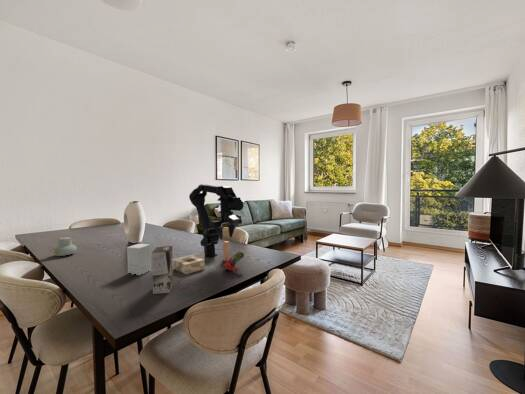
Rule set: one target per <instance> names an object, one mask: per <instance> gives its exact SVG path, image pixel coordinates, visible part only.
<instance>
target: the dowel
mask: <svg viewBox="0 0 525 394" xmlns="http://www.w3.org/2000/svg"><path fill="white" fill-rule="evenodd" d="M222 252H223V256H222V257H223V259H222V260H223V262H228V259H230V241H228V240H226V241H222ZM225 259H226V260H225Z"/></svg>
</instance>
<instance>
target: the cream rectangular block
mask: <svg viewBox="0 0 525 394" xmlns="http://www.w3.org/2000/svg"><path fill="white" fill-rule="evenodd" d="M190 256H195V257H198V258H201V259H203V260H204V262H206V261H205V260H206V259H205V258H206V257H205V253H204V251H201V252H198V253H194V254H189V255H183V256H181V257H176V258H173V271H174V270H176V269H175V260H178V259H182V258H186V257H190Z"/></svg>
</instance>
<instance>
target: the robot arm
mask: <svg viewBox="0 0 525 394" xmlns="http://www.w3.org/2000/svg"><path fill="white" fill-rule="evenodd" d="M208 193H211V194H215V195H217V196H218V197H219V198H217V201H218V202H220V203H219V205H220V211H218V214H220V218H219V219H218V220H211V218H210V216H209V214H208V211H207V209H206V206H205V203H206V197H207V195H208ZM188 198H189V200H190V203H191V205H193V206H194V207H195V208H196V211H197V214H198V217H199V220H200V222H201V226H202V228H203V231H202V232H203V233H202V237H203V238H202V239H200V246H201V247H203V253H205V258H211V257H215V256H218V254H217V253H216V245H217V244H219V240H223V231H224V227H225V226H223V225H227V228H228V234H229V238H233V234H234V232H235V229H236V227H237V226H239V225H240V224H241V225H242V224H243V220H242V215H241V214H234V211H237V212H239V211H242V210H243V208H244V202H243V201H242V200H241V197H239V196H238V197H237V194H236V193H235V191H234V189H233V187H232V186H231V185H221V186H217V185H211V184H206V183H200V184H199V185H198V186H197V187H196V188H194V189H193V190H192V191H191V192H190V194H189V197H188Z"/></svg>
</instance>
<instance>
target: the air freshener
mask: <svg viewBox="0 0 525 394" xmlns="http://www.w3.org/2000/svg"><path fill="white" fill-rule="evenodd" d="M57 240H58V245H57V246H56V247H54V249H53V254H54V255H55V256H57V257H60V256H63V257H66V256H65V255H69V256H71V255H70V254H72V255H73V253H74V254H75V253H76V252H77V250H78V248H77V245H75V244H73V243H72V241H73V240H72V237H69V236H67V237H66V236H65V237H60V238H58V239H57Z"/></svg>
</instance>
